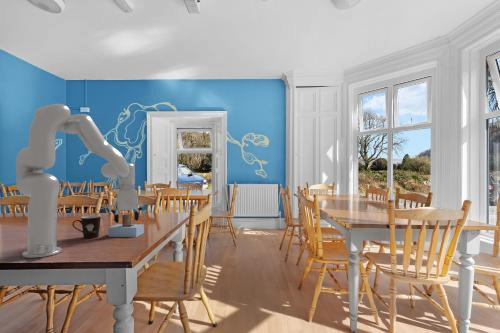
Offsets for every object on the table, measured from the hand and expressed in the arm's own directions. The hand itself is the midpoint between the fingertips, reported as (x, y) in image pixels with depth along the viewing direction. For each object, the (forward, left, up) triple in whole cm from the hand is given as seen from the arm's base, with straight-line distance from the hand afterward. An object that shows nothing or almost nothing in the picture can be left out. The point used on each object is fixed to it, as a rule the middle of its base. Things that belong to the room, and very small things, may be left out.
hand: (126, 221), depth 153 cm
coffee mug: (+7, +16, -7) cm, 19 cm away
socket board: (0, 0, -7) cm, 7 cm away
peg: (0, 0, -7) cm, 7 cm away
